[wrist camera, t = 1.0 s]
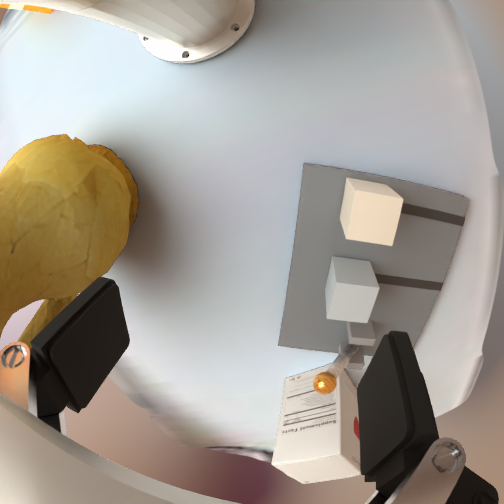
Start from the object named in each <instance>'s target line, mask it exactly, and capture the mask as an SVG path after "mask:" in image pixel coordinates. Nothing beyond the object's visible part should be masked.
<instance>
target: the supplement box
mask: <svg viewBox="0 0 504 504" xmlns="http://www.w3.org/2000/svg"><path fill="white" fill-rule="evenodd" d="M330 366H331V364H329V365H326V366H323V367H320V368H317V369H314V370H310V371H307V372H304V373H301V374H298V375H295V376H291V377H288V378H286V379H285V386H284V393H283V399H282V406H281V412H280V419H279V425H278V431H277V437H276V442H275V448H274V453H273V459H272V465H273V466H275V467H276V468H278V469H279V470H281V471H283V472H284V473H285V474H286V475H288V476H290V477H292V478H294V479H296V480H297V481H299V482H301V483H303V484H305V483H313V482H320V481H327V480H333V479H341V478H347V477H352V476H357V475H360V474H361V472H360V436H359V416H358V401H357V389H356V388H355V386H354V384H353V383H352V381H351V379H350V378H349V376H348V375H347V373H346V371H345V370H343V371H342V372H341V374H340V375H339V376H338V378H337V386H336V388H335V390H334V391H333V392H331V393H330V394H326V395H322V394H319V393H317V392H316V391H315V389H314V387H313V380H314V378H315V376H316V375H317V374H319V373H321V372H325V371H327V369H328V368H329V367H330Z"/></svg>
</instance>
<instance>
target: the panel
mask: <svg viewBox="0 0 504 504" xmlns="http://www.w3.org/2000/svg"><path fill="white" fill-rule="evenodd" d="M346 177H348V178H353V179H359V180H365V181H370V182H375V183H381V184H386V185H388V186H389V187H390V188H391V189H393V190H394V191H395V192H396V193H397V194H398V195H400V196H401V197H402V198H403V204H402V208H401V213H400V217H399V221H398V225H397V229H396V233H395V237H394V241H393V245H392V246H388V245H382V244H375V243H369V242H363V241H356V240H349V239H346V237H345V234H344V231H343V227H342V224H341V221H340V213H341V208H342V202H343V196H344V189H345V183H346ZM468 203H469V199H468V198H466V197H464V196H463V195H459V194H456V193H452V192H449V191H445V190H441V189H437V188H433V187H429V186H425V185H421V184H417V183H413V182H409V181H404V180H400V179H395V178H390V177H386V176H381V175H376V174H370V173H365V172H360V171H354V170H348V169H342V168H336V167H329V166H323V165H316V164H309V163H304V165H303V174H302V183H301V191H300V200H299V208H298V216H297V224H296V231H295V239H294V246H293V253H292V260H291V267H290V274H289V280H288V287H287V293H286V300H285V306H284V312H283V318H282V324H281V330H280V336H279V342H278V346H284V347H291V348H299V349H307V350H315V351H324V352H333V353H339V354H340V353H341V352H342V350H343V349H344V348H345V346H346V345H347V344H348V342H349V344H356V345H360V346H359V348H358V351H357V352H356V353H355V354H354V355H353V357H352V358H351V360H350V361H349V363H348V364H347V365H346V367H345V368H348V369H362V368H363V366H364V357H363V355H368V356H374V354H375V352H376V350H377V348H378V346H379V344H380V342H381V340H382V338H383V336H384V335H385V334H388V333H389V332H390V331H402V332H407V333H408V335H409V338H410V341H411V344H412V347H414V345H415V343H416V341H417V339H418V337H419V335H420V333H421V331H422V329H423V327H424V325H425V323H426V321H427V319H428V316H429V314H430V312H431V310H432V308H433V305H434V303H435V301H436V298H437V296H438V294H439V291H440V290H441V288H442V285H443V281H444V279H445V276H446V274H447V271H448V268H449V266H450V263H451V260H452V257H453V254H454V251H455V248H456V245H457V242H458V239H459V236H460V232H461V229H462V226H463V224H464V220H465V215H466V211H467V207H468ZM332 256H336V257H343V258H350V259H357V260H364V261H370V263H371V266H372V269H373V271H374V274H375V277H376V279H377V282H378V285H379V287H380V288H379V291H378V294H377V297H376V300H375V303H374V306H373V309H372V311H371V314H370V317H369V320H368V322H367V323H360V322H350V321H341V320H333V319H327V315H326V297H325V287H326V283H327V278H328V274H329V269H330V265H331V260H332Z"/></svg>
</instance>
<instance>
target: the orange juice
mask: <svg viewBox="0 0 504 504" xmlns="http://www.w3.org/2000/svg"><path fill="white" fill-rule="evenodd" d="M0 7H2V8H10V9H20V10H30V11H37V12H43V13H49V14H51V12H52V10H53V9H51V8H46V7H39V6H32V5H23V4H0Z"/></svg>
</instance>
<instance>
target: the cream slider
mask: <svg viewBox="0 0 504 504" xmlns="http://www.w3.org/2000/svg"><path fill="white" fill-rule="evenodd" d="M402 204H403V198H402V197H401V196H400V195H398V194H397V193H396V192H395V191H394V190H393V189H391V188H390V187H389V186H388V185H386V184H381V183H375V182H370V181H365V180H359V179H353V178H348V177H346V183H345V189H344V196H343V202H342V208H341V213H340V221H341V224H342V227H343V231H344V234H345V237H346V239H349V240H356V241H363V242H369V243H375V244H382V245H388V246H392V245H393V241H394V237H395V233H396V229H397V225H398V221H399V217H400V213H401V208H402Z"/></svg>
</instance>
